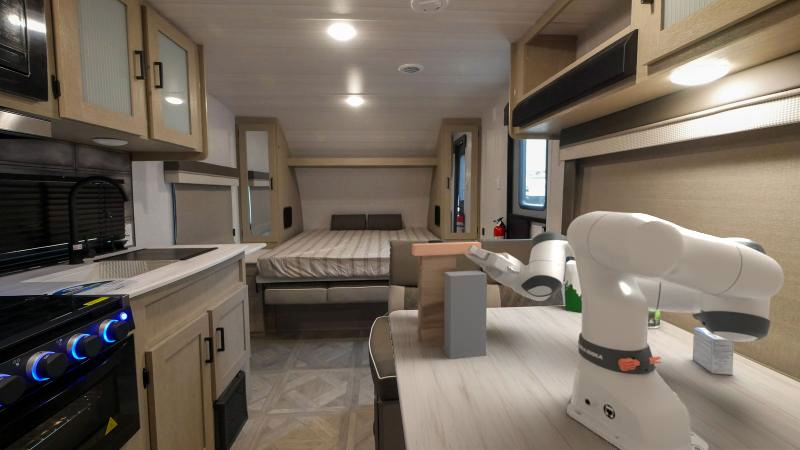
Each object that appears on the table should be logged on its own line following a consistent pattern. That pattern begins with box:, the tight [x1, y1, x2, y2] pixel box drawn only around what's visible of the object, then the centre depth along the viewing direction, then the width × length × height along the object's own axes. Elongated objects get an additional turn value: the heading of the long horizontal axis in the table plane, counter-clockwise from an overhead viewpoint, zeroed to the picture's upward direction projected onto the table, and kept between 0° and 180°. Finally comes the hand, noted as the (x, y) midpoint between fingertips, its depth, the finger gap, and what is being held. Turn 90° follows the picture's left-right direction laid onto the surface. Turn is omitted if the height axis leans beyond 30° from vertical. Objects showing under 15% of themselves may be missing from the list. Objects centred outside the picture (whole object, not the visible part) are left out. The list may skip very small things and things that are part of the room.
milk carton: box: [564, 260, 582, 314], centre depth 135 cm, size 9×9×20 cm
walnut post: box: [417, 254, 458, 348], centre depth 105 cm, size 5×10×26 cm, turn 102°
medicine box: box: [692, 327, 735, 376], centre depth 89 cm, size 8×4×9 cm, turn 168°
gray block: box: [443, 270, 488, 360], centre depth 97 cm, size 5×10×22 cm, turn 102°
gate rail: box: [411, 241, 482, 257], centre depth 105 cm, size 3×20×3 cm, turn 102°
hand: (465, 246), depth 106 cm, fingers open, 5 cm apart
